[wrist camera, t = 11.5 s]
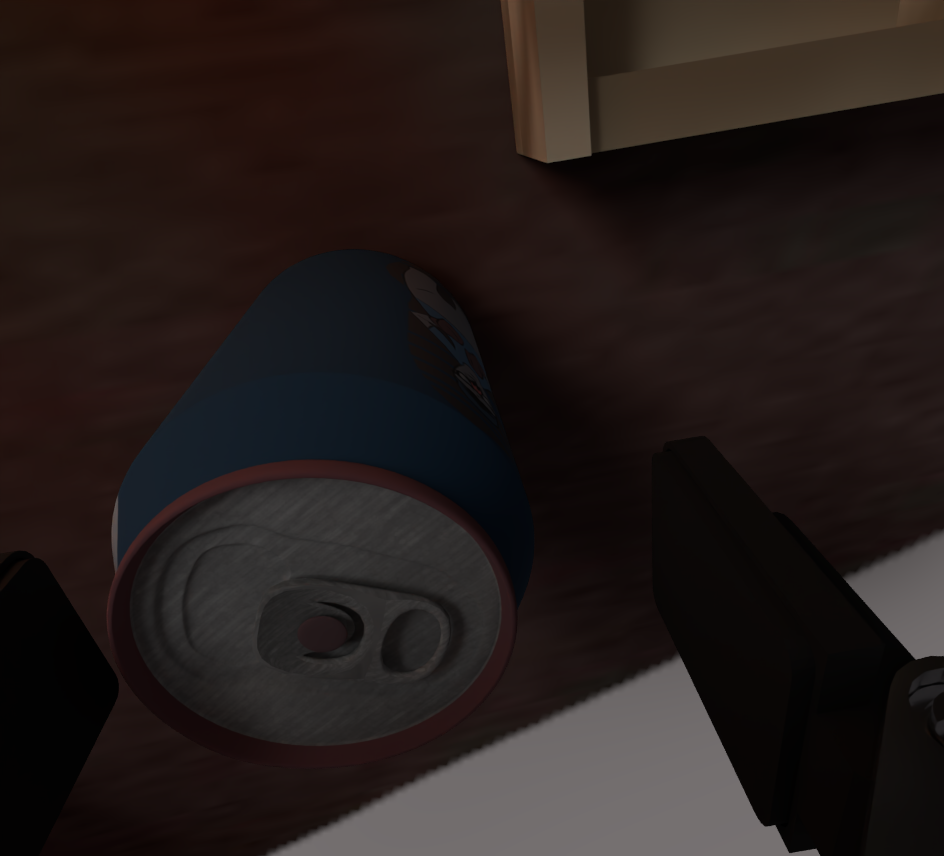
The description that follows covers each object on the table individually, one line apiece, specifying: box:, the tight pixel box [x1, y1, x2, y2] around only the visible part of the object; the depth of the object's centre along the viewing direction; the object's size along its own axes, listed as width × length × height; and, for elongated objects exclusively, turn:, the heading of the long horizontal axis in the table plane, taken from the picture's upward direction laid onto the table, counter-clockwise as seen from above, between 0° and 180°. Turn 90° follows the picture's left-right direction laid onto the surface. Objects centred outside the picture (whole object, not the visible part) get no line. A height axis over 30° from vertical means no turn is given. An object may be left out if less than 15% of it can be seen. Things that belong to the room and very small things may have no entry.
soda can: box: [107, 249, 534, 769], centre depth 14 cm, size 7×7×12 cm
